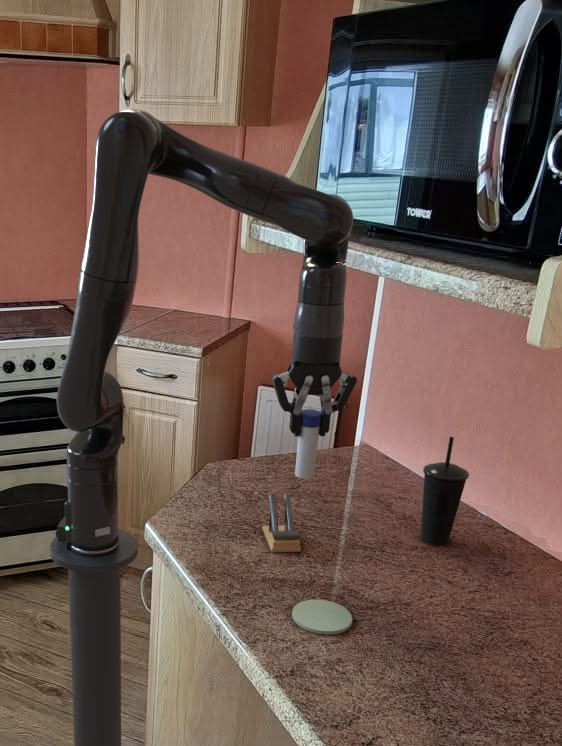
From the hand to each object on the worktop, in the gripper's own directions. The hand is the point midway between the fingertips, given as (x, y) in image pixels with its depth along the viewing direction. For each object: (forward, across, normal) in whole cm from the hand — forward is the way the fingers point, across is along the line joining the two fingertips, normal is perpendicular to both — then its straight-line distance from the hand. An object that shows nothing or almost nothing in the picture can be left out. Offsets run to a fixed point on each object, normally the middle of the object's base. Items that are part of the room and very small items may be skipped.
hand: (308, 434), depth 130 cm
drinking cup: (+23, +27, +7) cm, 37 cm away
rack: (+23, -1, +8) cm, 25 cm away
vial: (+5, 0, +4) cm, 6 cm away
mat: (+23, -1, -19) cm, 30 cm away
